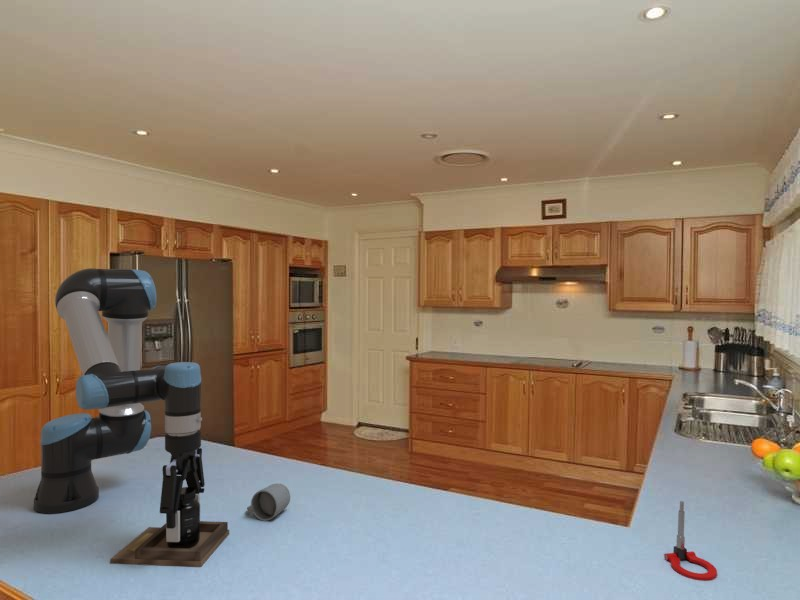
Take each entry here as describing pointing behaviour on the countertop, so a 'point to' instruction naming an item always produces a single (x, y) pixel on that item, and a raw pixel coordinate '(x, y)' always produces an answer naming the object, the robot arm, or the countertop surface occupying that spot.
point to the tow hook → (688, 554)
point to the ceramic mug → (269, 501)
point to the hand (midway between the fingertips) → (183, 531)
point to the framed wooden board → (156, 551)
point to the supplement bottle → (188, 520)
